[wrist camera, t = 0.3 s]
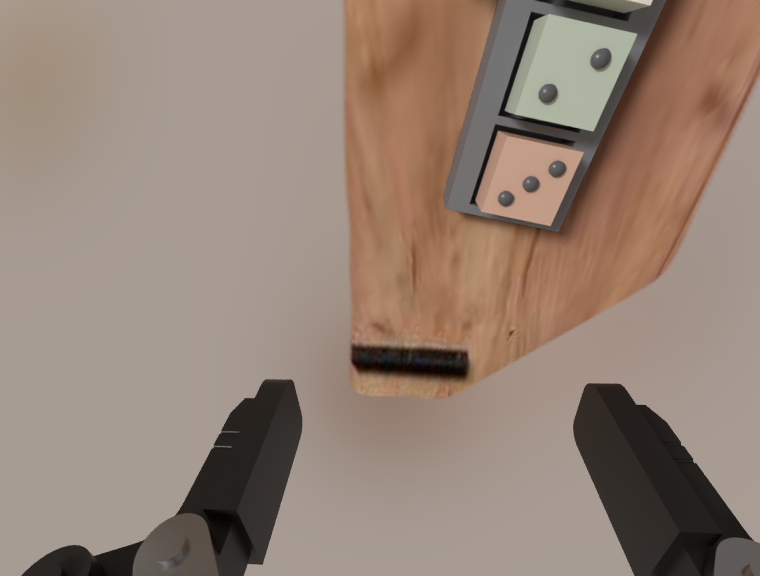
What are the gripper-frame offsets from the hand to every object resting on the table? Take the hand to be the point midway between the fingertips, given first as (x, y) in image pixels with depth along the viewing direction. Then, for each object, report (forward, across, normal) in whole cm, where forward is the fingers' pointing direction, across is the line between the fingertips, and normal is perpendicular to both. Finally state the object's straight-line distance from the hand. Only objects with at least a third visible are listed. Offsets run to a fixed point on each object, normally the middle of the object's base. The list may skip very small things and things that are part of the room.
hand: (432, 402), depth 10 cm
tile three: (+24, -8, 0) cm, 25 cm away
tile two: (+24, -10, -7) cm, 27 cm away
